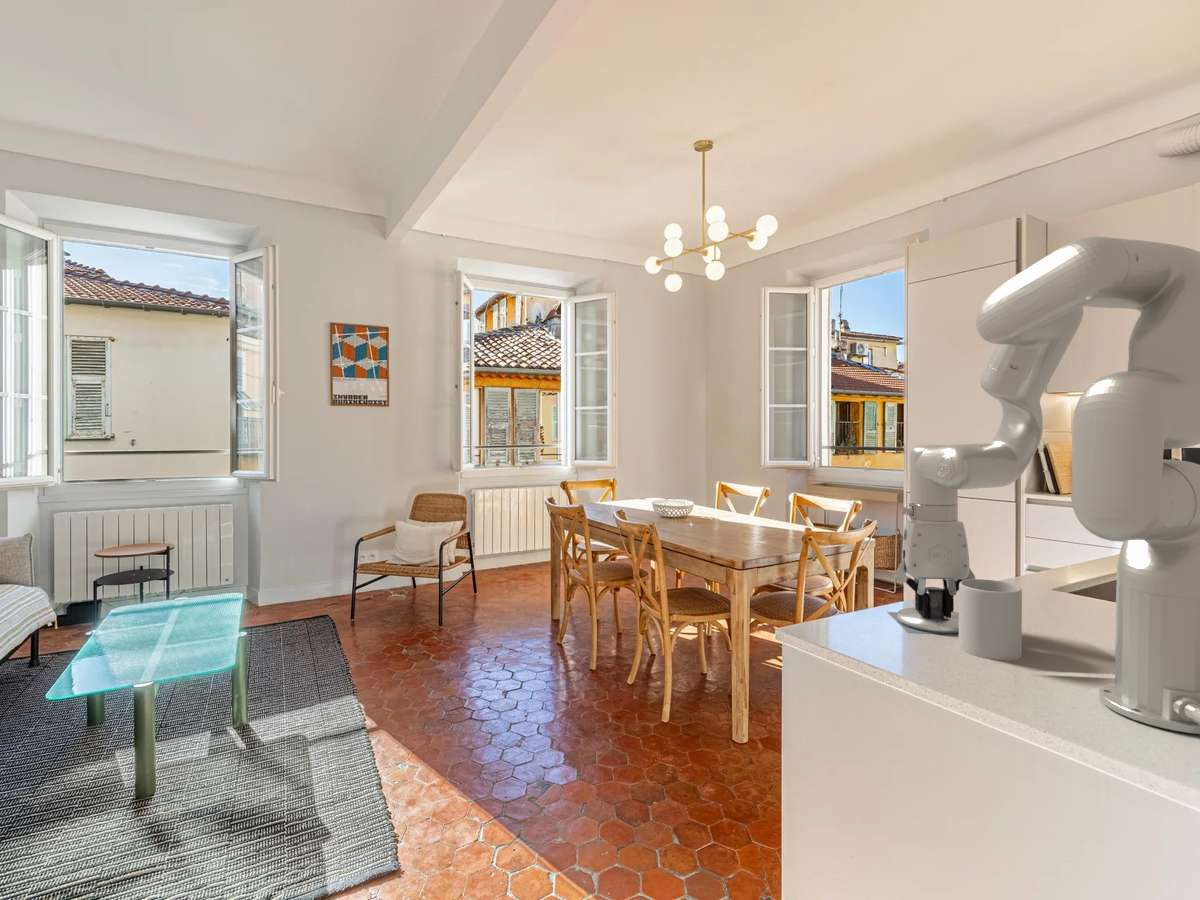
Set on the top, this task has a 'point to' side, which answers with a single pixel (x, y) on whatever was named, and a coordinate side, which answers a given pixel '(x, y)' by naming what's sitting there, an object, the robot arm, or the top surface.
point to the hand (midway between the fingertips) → (934, 614)
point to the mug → (990, 619)
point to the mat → (914, 630)
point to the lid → (931, 614)
